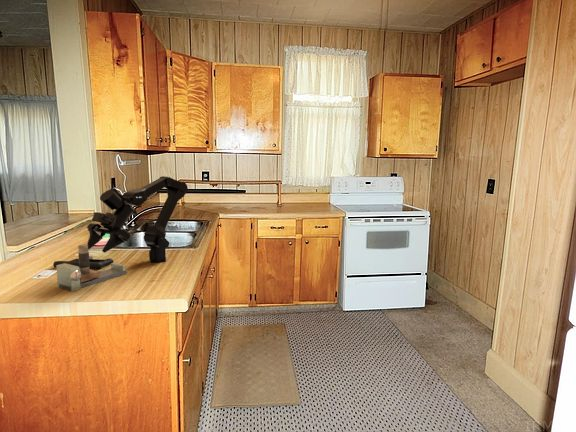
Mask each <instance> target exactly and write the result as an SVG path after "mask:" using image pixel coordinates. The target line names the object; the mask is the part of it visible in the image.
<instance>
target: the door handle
mask: <svg viewBox="0 0 576 432" xmlns="http://www.w3.org/2000/svg"><path fill="white" fill-rule="evenodd" d="M89 261H90V266H89V267H90V269H91V270H96V271H99V270H101V269H103V268H104V267H107V266H109V265H111V263H114V259H112V258H109V257H108V258H105V259H100V258H99V259H98V258H96V259H95V258H93V256H92V255H91V256H90V255H89ZM64 263H66V264H70V265H74V266H78V267H79V258H74V259H71V260H68V261H67V260H55V261H54V262H53V265H52V266H53V267H54V268H56V269H57V267H56V265H60V264H64ZM79 270H80V267H79Z"/></svg>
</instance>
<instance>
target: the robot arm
mask: <svg viewBox="0 0 576 432" xmlns="http://www.w3.org/2000/svg"><path fill="white" fill-rule="evenodd" d="M162 189H167V190H166V192H167V197H166V199H165V202H164V204H162V205H163V206H162V208H161V210H160V211H159V213H158V216H157V218H156V220H155V222H154V224H153V225H148V226H147V227H146V230H145V231H144V232H143V234H144V235H143V241H144V243H145V244H146V247H147V248H149V251H148V260H149V263H163V262H167V253H166V249H167V248H169V247H170V242H169V240H167V239H166V236H167V235H166V234H167V233H166V227H167V225H168V223H169V221H170V219H171V217H172V215H173V213H174V210H175V208H176V206H177V204H178V202H179V201H180V200H181V199H182V198H184V197H185V195H186V194H187V192H188V184H187V183H186V182H184V181H180V180H177V179H174V178H172V177H170V176H166V175H165V176H164V175H163V176H160V177H159V178H157V179H155V180H154V181H151V182H150V183H147V184H146V185H145V186H143V187H140V188H135V189H130V190H128V191H125V192H124V194H121V193H120V192H119V191H118V190H117V188H116V187H111V188H109V189H108V190H106V191H105V192H103V193H101V195H100V196H99V200H100V201H101V202H102V203H103V204H104V205H105V206H107V207H108V208H109V210H112V211H113V210H114V211H113V213H111V212H108V211H106V212H105V213H102V212H94V213H93V216H92V218H91V221H92V222H89V223H88V225H87V226H86V229H87V230H88V232H89V237H88V241H87V244H86V245H88V250H90V249H91V248H93V247H94V246H95V245H96V244H98V243H99V242H100V241H101V240H102V239H104V237H105V236H106V234H108V235H109V238H108V240H107V242H106V243H105V245H104V247H103V248H102V250H101V252H102V253H103V254H104V253H107V252H108V251H110V250H111V249H114V248H115V247H117V246H119V245H121V244H123V243H126V242H129V241H130V239H131V238H132V235H131V233H130V232H129V231H128V230H126V228H124V227H127V225H128V224H127V223H126V222H127V221H128V220H129V218H130V217H131V216H132V215H133V216H138V212H137V208H133V206H134V207H140V206H143V204H144V203H146V202H147V201H148V198H149V197H151V196H152V195H154V194H157V192H159V191H161V190H162ZM107 207H106V208H107ZM96 222H98V223H96ZM99 223H100V224H99Z"/></svg>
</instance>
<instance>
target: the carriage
mask: <svg viewBox="0 0 576 432" xmlns="http://www.w3.org/2000/svg"><path fill="white" fill-rule="evenodd" d="M77 249H78V256H77V257H78V259H79V267H80V269H79V271H80V272H81V278H80V282H85V281H88V280H91V279H94V278H98V277H100V273H99V272H100V271H99V270H96V269H90V267H89V266H90V261H89V256H90V252H89V249H88V245H87V244H80V245H78V248H77Z"/></svg>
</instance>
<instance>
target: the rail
mask: <svg viewBox="0 0 576 432" xmlns="http://www.w3.org/2000/svg"><path fill="white" fill-rule="evenodd" d="M56 267H57V268H56ZM56 267H55V268H56V275H57V287H58V288H59V289H63V290H66V291H69V292H74V291H77V290H81V289H83V288H86V287H89V286H91V285H95V284H99V283H101V282H105V281H107V280H108V281H109V280H111V279H114V278H117V277H120V276H123V275H127V269H126V265H124V264H121V263H116V262H113V263H111V264H110V267H111V268H107V269H105V270H104V269H103V270H101V271H99V273H100V277H98V278H94V279H91V280H88V281H85V282H80V278H81V272H80V269H79V267H78V266H74V265H70V264H66V263H64V264H60V265H56Z"/></svg>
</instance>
